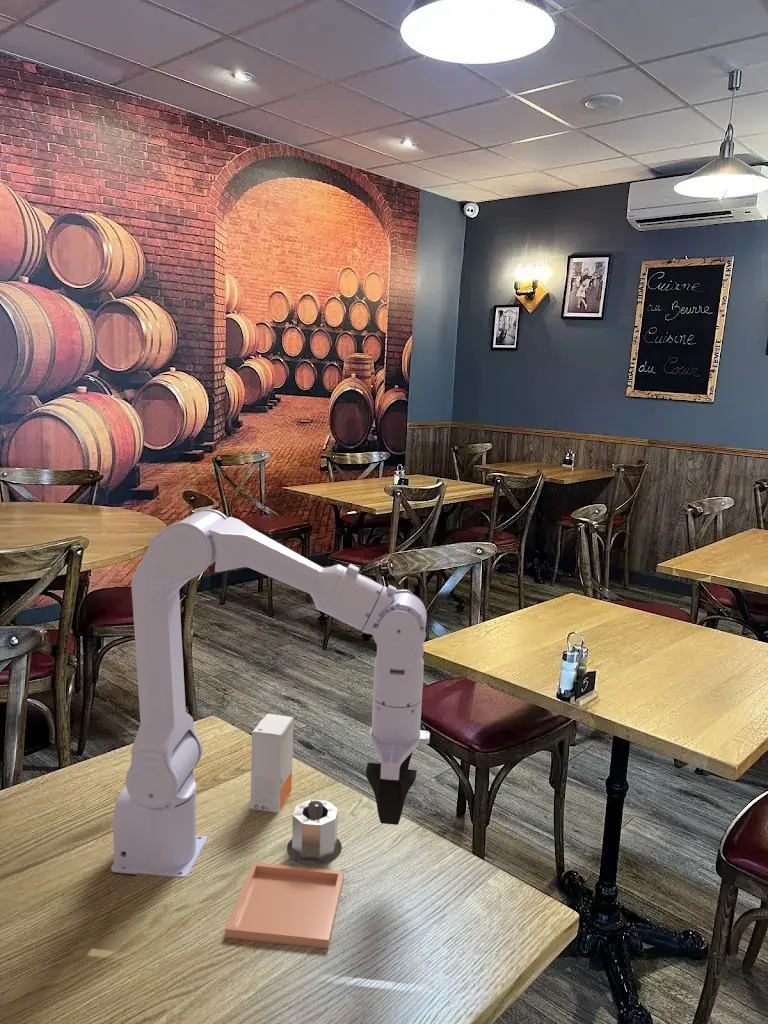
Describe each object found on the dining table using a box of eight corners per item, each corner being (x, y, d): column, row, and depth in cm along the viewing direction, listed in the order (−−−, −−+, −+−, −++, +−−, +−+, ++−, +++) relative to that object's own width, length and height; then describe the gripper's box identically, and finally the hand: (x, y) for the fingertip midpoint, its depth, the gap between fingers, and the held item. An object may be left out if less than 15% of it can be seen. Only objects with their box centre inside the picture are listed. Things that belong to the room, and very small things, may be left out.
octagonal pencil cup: (289, 858, 93) (289, 822, 93) (298, 832, 99) (298, 798, 98) (331, 862, 93) (332, 826, 92) (338, 836, 98) (339, 802, 97)
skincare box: (279, 816, 103) (280, 735, 101) (249, 811, 104) (250, 731, 102) (293, 792, 109) (294, 716, 107) (265, 788, 110) (266, 712, 108)
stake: (281, 865, 93) (282, 818, 92) (293, 831, 100) (294, 787, 99) (337, 871, 92) (338, 823, 91) (345, 836, 99) (346, 792, 98)
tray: (225, 941, 80) (225, 928, 80) (252, 873, 91) (252, 862, 91) (328, 952, 79) (328, 939, 79) (343, 882, 90) (344, 871, 90)
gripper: (429, 728, 79) (422, 843, 82) (433, 675, 94) (428, 774, 96) (363, 723, 80) (359, 837, 83) (377, 671, 94) (373, 769, 97)
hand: (392, 803), depth 89 cm, fingers open, 7 cm apart
